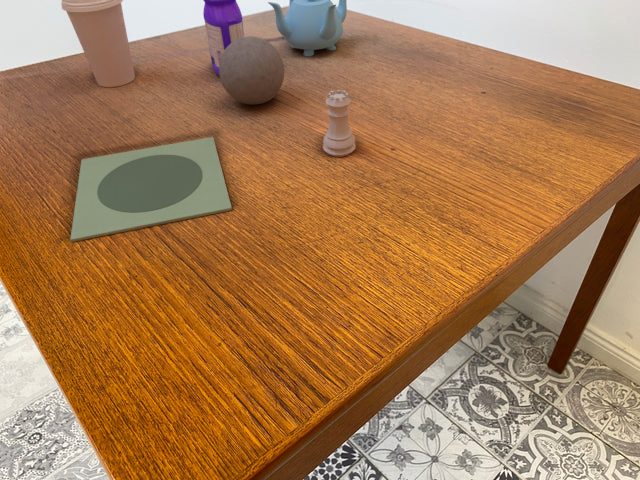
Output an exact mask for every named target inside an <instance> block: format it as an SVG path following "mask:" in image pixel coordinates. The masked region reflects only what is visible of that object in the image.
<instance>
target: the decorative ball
mask: <svg viewBox="0 0 640 480" xmlns="http://www.w3.org/2000/svg"><path fill="white" fill-rule="evenodd" d="M219 75H220V76H219ZM219 75H218V76H219V79H220V83H221V84H222V87H223V88H224V90H225V91H226V92H227V94H228V95H229V96H230V97H231V98H233V99H234V100H235V101H237V102H240V103H242V104H245V105H251V106H253V105H262V104H264V103H267V102H269V101H270V100H271V99H273V98H274V97H275V96H276V95H277V94H278V93H279V91H280V90H281V88H282V86H283V83H284V79H285V64H284V61H283V58H282V56H281V53H280V52H279V51H278V50H277V48H276V46H274V45H273V44H272V43H271V42H269V41H267V40H266V39H264V38H261V37H258V36H244V37H243V38H239V39H237V40H235V41H233V42H232V43H231V44H230V45H229V46H228V47H227V48H226V49H225V50H224V52H223V54H222V56H221V59H220V63H219Z"/></svg>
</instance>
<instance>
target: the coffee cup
mask: <svg viewBox="0 0 640 480" xmlns="http://www.w3.org/2000/svg"><path fill="white" fill-rule="evenodd" d="M123 1H124V0H61V3H60V4H61V5H60V6H61V10H62V11H65V12H66V15H67V16H68V18H69V20H70V23H71V25H72V28H73V30H74V32H75V35H76V37H77V39H78V41H79V44H80V46H81V49H82V51H83V53H84V55H85V58H86V60H87V62H88V65H89V67H90V70H91V71H92V74H93V77H94V78H95V81H96V83H97V85H98V86H100V87H103V88H116V87H121V86H125V85H127V84H130V83H131V82H134V81H135V78H136V74H135V70H134V69H135V68H134V64H133V58H132V53H131V48H130V43H129V37H128V33H127V28H126V22H125V17H124V11H123V7H122V2H123Z"/></svg>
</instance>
